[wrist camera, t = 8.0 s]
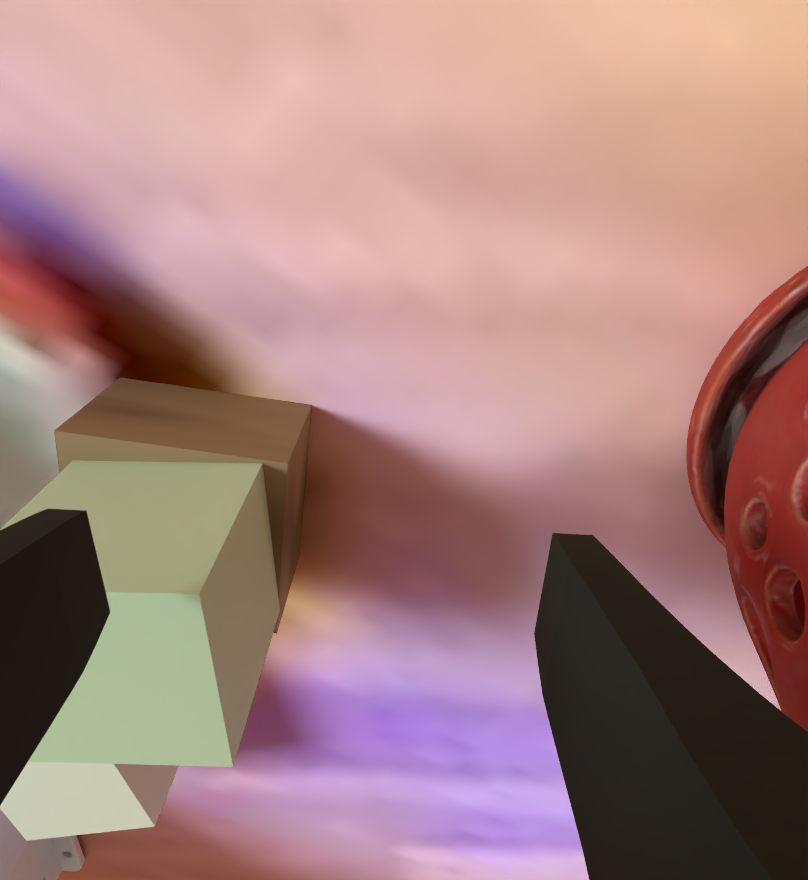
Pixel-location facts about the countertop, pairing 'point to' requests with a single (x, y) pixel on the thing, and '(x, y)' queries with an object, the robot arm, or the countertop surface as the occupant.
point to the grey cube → (86, 798)
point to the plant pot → (762, 480)
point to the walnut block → (203, 445)
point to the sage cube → (168, 611)
